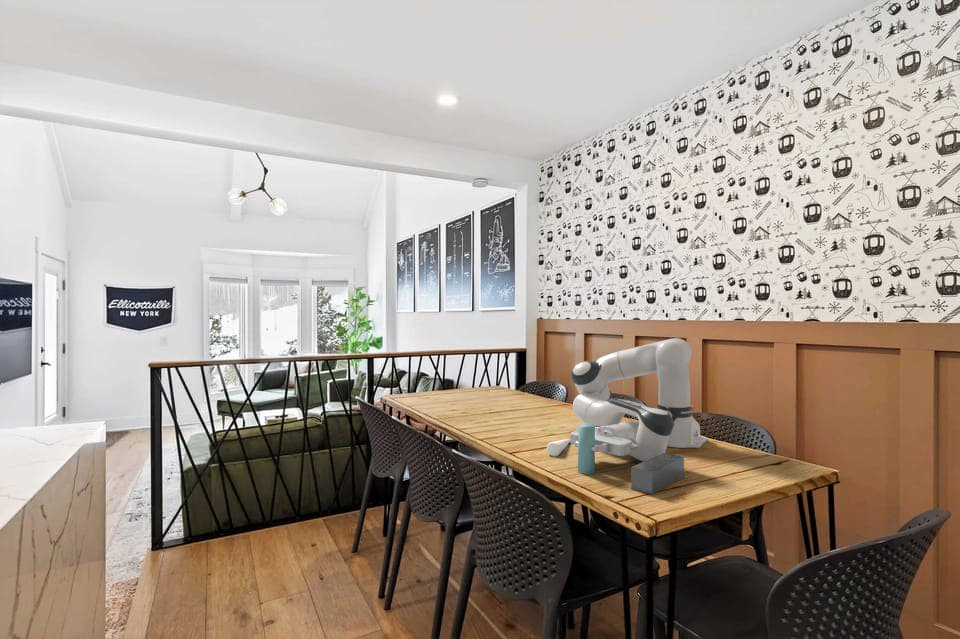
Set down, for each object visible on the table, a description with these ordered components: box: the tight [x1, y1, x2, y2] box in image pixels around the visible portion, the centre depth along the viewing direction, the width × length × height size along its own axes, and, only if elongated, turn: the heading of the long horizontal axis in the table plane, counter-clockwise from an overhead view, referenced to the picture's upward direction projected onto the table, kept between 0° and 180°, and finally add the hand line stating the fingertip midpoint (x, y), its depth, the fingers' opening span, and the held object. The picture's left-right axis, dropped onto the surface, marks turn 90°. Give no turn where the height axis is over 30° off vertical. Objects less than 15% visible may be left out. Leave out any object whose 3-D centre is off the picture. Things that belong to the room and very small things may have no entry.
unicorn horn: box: [546, 438, 571, 457], centre depth 176 cm, size 5×24×5 cm, turn 152°
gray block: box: [630, 452, 685, 495], centre depth 138 cm, size 20×6×6 cm, turn 134°
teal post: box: [577, 423, 596, 475], centre depth 148 cm, size 5×5×14 cm
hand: (584, 446), depth 148 cm, fingers closed on teal post, 5 cm apart
